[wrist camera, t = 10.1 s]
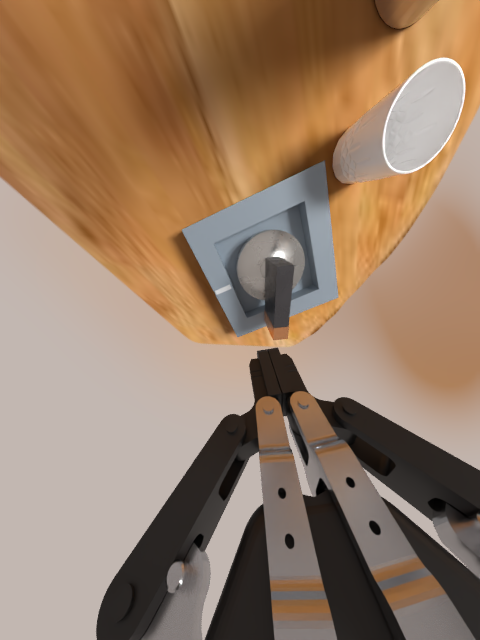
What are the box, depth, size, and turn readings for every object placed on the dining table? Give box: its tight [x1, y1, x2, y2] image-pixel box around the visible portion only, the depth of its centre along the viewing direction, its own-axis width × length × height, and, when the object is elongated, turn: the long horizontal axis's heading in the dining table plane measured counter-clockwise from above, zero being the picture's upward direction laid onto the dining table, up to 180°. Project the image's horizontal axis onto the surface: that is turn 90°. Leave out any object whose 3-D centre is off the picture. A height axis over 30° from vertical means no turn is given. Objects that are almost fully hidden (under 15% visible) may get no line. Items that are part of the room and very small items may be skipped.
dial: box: [236, 229, 305, 340], centre depth 29 cm, size 16×12×9 cm
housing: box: [182, 160, 338, 337], centre depth 31 cm, size 22×22×3 cm
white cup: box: [332, 58, 465, 184], centre depth 21 cm, size 8×8×10 cm
